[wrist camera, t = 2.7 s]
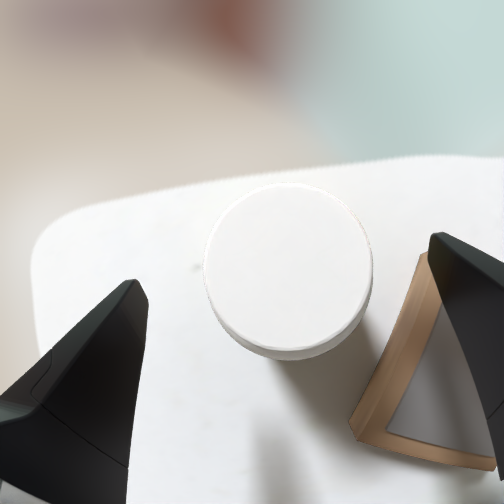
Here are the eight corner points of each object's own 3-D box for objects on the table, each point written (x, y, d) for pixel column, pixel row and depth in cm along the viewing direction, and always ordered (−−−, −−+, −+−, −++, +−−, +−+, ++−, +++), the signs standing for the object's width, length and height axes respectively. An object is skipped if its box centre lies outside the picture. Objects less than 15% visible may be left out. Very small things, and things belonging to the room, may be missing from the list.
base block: (474, 456, 13) (495, 473, 10) (348, 421, 15) (358, 442, 12) (533, 313, 14) (561, 312, 11) (420, 254, 16) (443, 244, 13)
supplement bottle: (362, 282, 16) (443, 251, 7) (295, 360, 16) (295, 427, 6) (286, 217, 17) (275, 117, 8) (220, 292, 17) (132, 274, 8)
